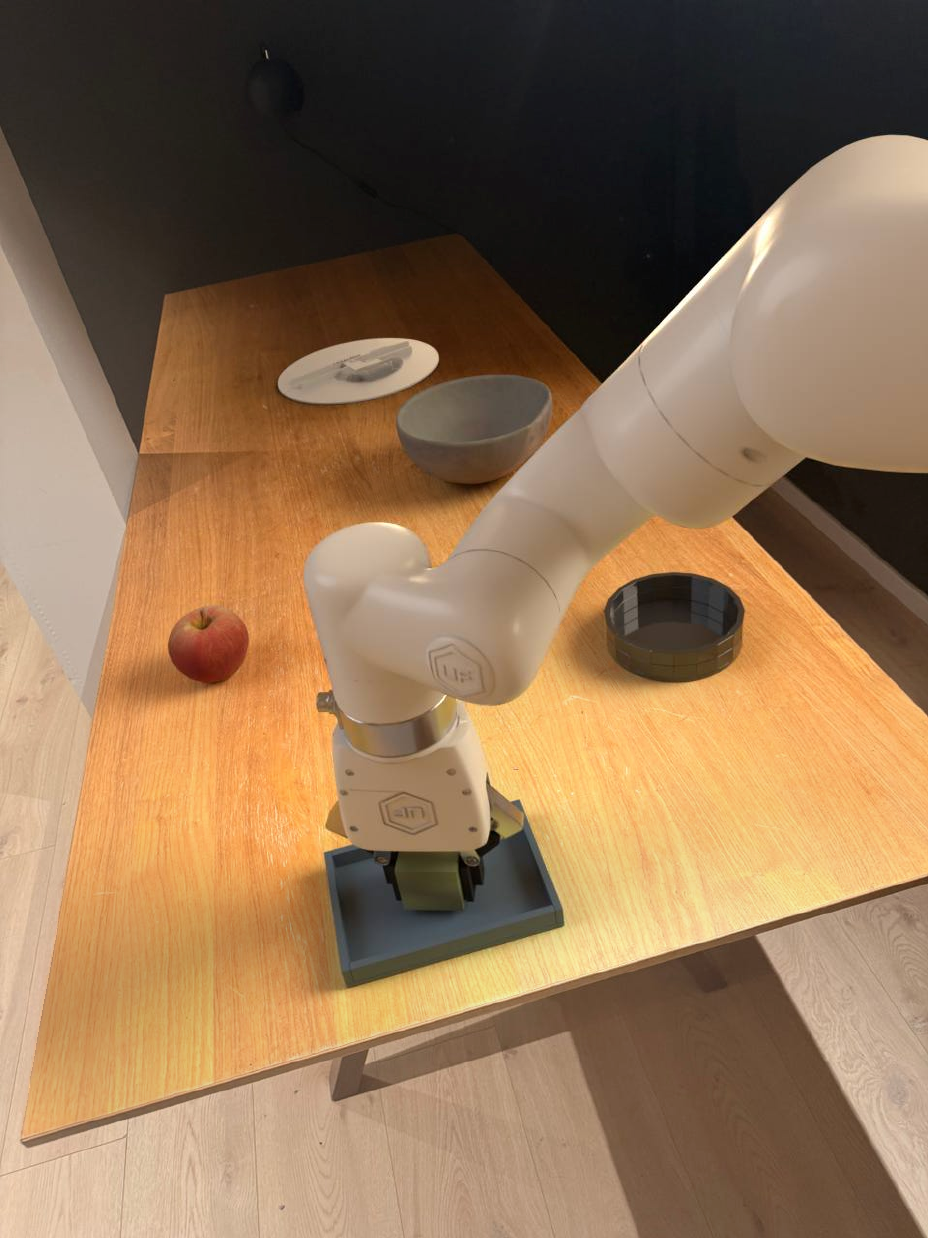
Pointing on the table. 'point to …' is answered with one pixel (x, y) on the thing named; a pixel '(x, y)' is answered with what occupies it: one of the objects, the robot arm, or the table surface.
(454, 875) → the block
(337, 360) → the plate
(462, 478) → the bowl
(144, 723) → the table surface
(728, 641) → the pan
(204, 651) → the apple
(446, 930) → the tray
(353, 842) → the robot arm
